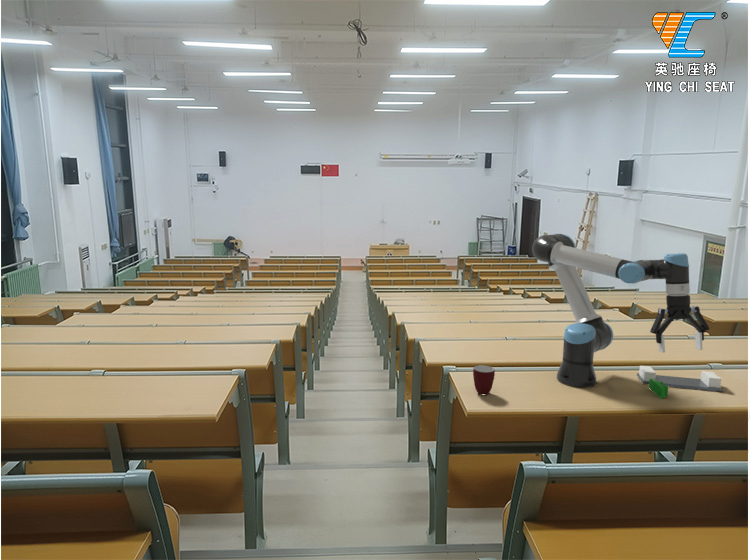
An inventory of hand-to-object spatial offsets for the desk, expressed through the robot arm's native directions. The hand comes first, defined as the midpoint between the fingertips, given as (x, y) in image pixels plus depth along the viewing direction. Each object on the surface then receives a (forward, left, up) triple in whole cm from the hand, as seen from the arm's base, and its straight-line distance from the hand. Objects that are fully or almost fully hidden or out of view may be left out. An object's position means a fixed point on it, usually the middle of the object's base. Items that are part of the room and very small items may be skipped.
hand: (680, 350), depth 177 cm
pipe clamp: (-5, +2, -19) cm, 20 cm away
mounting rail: (+6, +16, -18) cm, 25 cm away
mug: (-72, -17, -19) cm, 76 cm away
